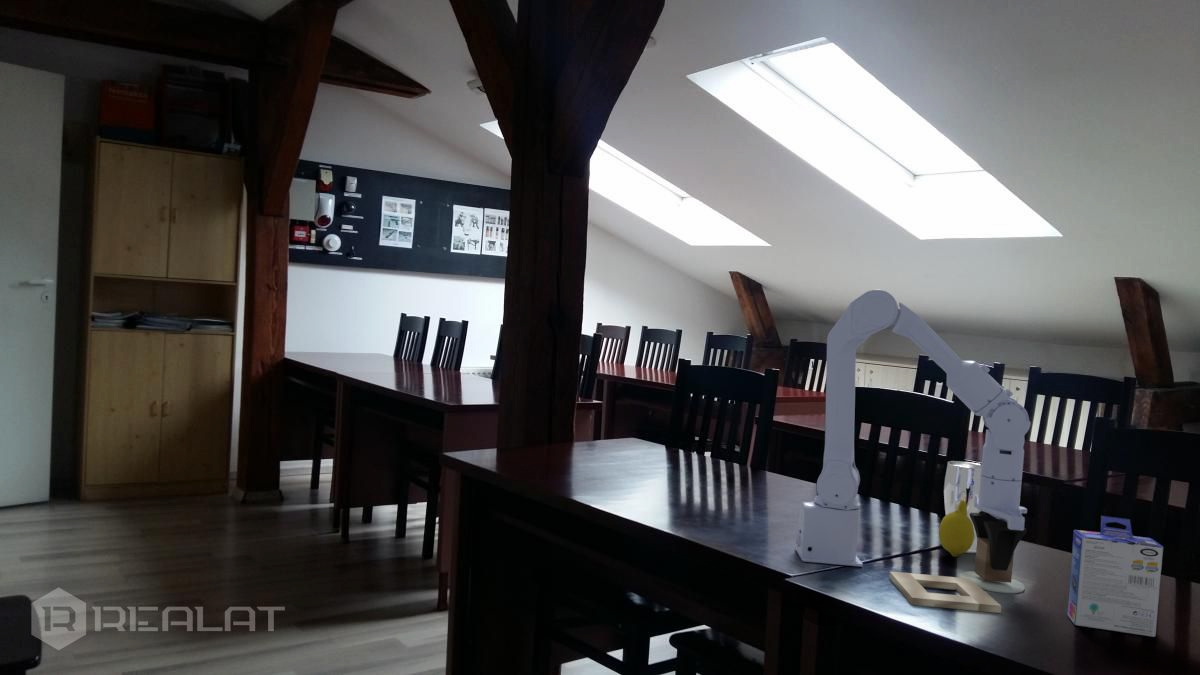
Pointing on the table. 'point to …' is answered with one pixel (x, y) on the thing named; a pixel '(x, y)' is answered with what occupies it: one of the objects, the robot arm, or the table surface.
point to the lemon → (956, 533)
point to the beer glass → (962, 490)
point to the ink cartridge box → (1115, 579)
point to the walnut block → (989, 564)
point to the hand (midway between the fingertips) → (993, 565)
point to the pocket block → (966, 587)
